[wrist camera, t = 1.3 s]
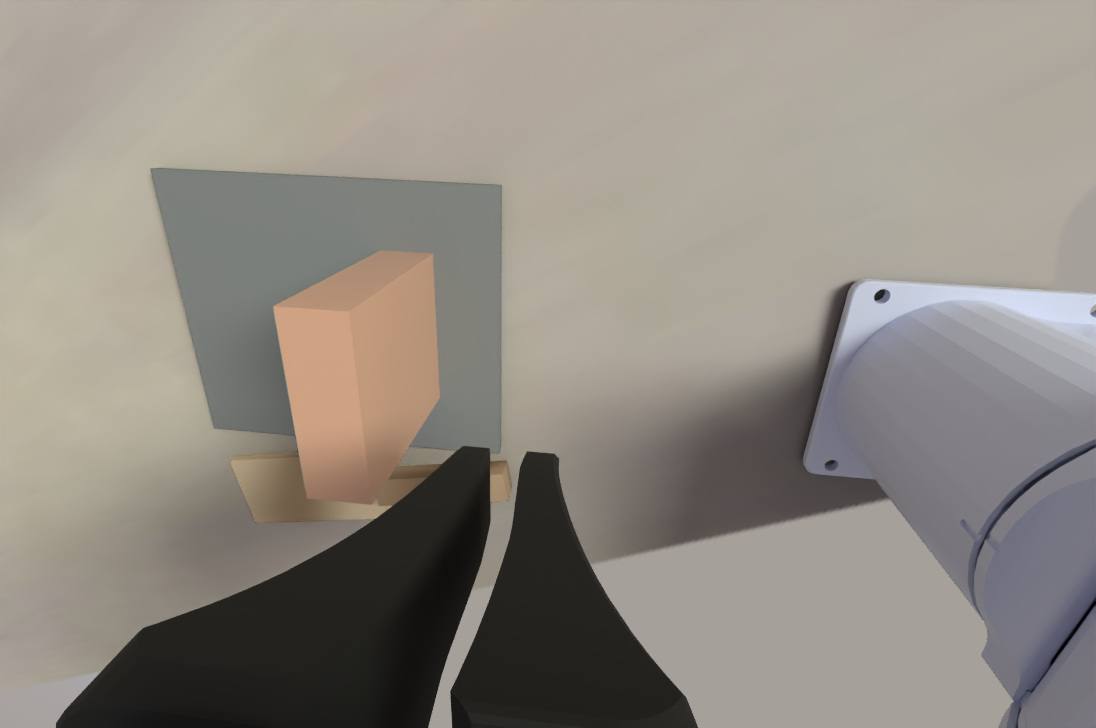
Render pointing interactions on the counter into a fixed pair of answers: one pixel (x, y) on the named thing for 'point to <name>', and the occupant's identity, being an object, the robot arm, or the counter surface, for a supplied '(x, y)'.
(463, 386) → the mat
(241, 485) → the wooden cleaver
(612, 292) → the counter surface
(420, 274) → the tile
